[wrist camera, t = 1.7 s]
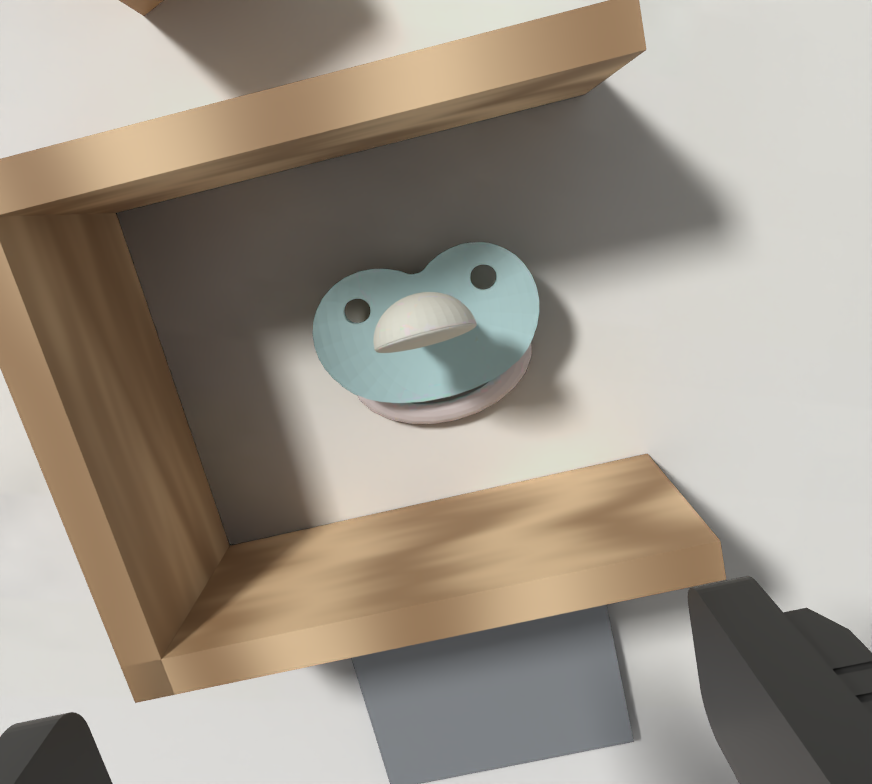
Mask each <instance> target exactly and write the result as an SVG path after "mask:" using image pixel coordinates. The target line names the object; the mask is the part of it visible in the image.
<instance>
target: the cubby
mask: <svg viewBox="0 0 872 784" xmlns="http://www.w3.org/2000/svg"><path fill="white" fill-rule="evenodd" d="M645 50H646V44H645V37H644V31H643V24H642V17H641V11H640V4H639V0H609V1H605V2H601V3H597V4H593V5H590V6H586V7H582V8H578V9H574V10H570V11H566V12H563V13H559V14H555V15H551V16H547V17H543V18H540V19H536V20H532V21H528V22H524V23H520V24H517V25H513V26H509V27H505V28H501V29H497V30H493V31H490V32H486V33H482V34H478V35H474V36H470V37H467V38H463V39H459V40H455V41H451V42H447V43H444V44H440V45H436V46H432V47H428V48H424V49H421V50H417V51H413V52H409V53H405V54H401V55H397V56H394V57H390V58H386V59H382V60H378V61H374V62H371V63H367V64H363V65H359V66H355V67H351V68H348V69H344V70H340V71H336V72H332V73H328V74H324V75H321V76H317V77H313V78H309V79H305V80H301V81H298V82H294V83H290V84H286V85H282V86H278V87H275V88H271V89H267V90H263V91H259V92H255V93H252V94H248V95H244V96H240V97H236V98H232V99H228V100H225V101H221V102H217V103H213V104H209V105H205V106H202V107H198V108H194V109H190V110H186V111H182V112H179V113H175V114H171V115H167V116H163V117H159V118H156V119H152V120H148V121H144V122H140V123H136V124H132V125H129V126H125V127H121V128H117V129H113V130H109V131H106V132H102V133H98V134H94V135H90V136H86V137H83V138H79V139H75V140H71V141H67V142H63V143H59V144H56V145H52V146H48V147H44V148H40V149H36V150H33V151H29V152H25V153H21V154H17V155H13V156H10V157H6V158H2V159H0V368H1V371H2V373H3V376H4V378H5V381H6V383H7V386H8V388H9V391H10V393H11V396H12V398H13V401H14V403H15V406H16V408H17V411H18V413H19V416H20V418H21V420H22V423H23V425H24V428H25V430H26V433H27V435H28V438H29V440H30V443H31V445H32V448H33V450H34V453H35V455H36V458H37V460H38V463H39V465H40V468H41V470H42V473H43V475H44V478H45V480H46V483H47V485H48V487H49V490H50V492H51V495H52V497H53V500H54V502H55V505H56V507H57V510H58V512H59V515H60V517H61V520H62V522H63V525H64V527H65V530H66V532H67V535H68V537H69V540H70V542H71V545H72V547H73V550H74V552H75V554H76V557H77V559H78V562H79V564H80V567H81V569H82V572H83V574H84V577H85V579H86V582H87V584H88V587H89V589H90V592H91V594H92V597H93V599H94V602H95V604H96V607H97V609H98V612H99V614H100V617H101V619H102V622H103V624H104V626H105V629H106V631H107V634H108V636H109V639H110V641H111V644H112V646H113V649H114V651H115V654H116V656H117V659H118V661H119V664H120V666H121V669H122V671H123V674H124V676H125V679H126V681H127V684H128V686H129V689H130V691H131V693H132V696H133V698H134V701H135V703H137V702H142V701H146V700H151V699H156V698H161V697H166V696H170V695H175V694H180V693H185V692H190V691H194V690H199V689H204V688H209V687H214V686H218V685H223V684H228V683H233V682H237V681H242V680H247V679H252V678H257V677H261V676H266V675H271V674H276V673H281V672H285V671H290V670H295V669H300V668H305V667H309V666H314V665H319V664H324V663H329V662H333V661H338V660H343V659H348V658H353V657H357V656H362V655H367V654H372V653H376V652H381V651H386V650H391V649H396V648H400V647H405V646H410V645H415V644H420V643H424V642H429V641H434V640H439V639H444V638H448V637H453V636H458V635H463V634H468V633H472V632H477V631H482V630H487V629H492V628H496V627H501V626H506V625H511V624H515V623H520V622H525V621H530V620H535V619H539V618H544V617H549V616H554V615H559V614H563V613H568V612H573V611H578V610H583V609H587V608H592V607H597V606H602V605H607V604H611V603H616V602H621V601H626V600H631V599H635V598H640V597H645V596H650V595H655V594H659V593H664V592H669V591H674V590H678V589H683V588H688V587H693V586H698V585H702V584H707V583H712V582H717V581H722V580H726V575H725V568H724V562H723V555H722V549H721V542H720V540H719V539H718V537H717V536H716V535H715V534H714V533H713V531H712V530H711V529H710V528H709V527H708V525H707V524H706V523H705V522H704V521H703V520H702V518H701V517H700V516H699V515H698V514H697V512H696V511H695V510H694V509H693V508H692V506H691V505H690V504H689V503H688V502H687V500H686V499H685V498H684V497H683V496H682V494H681V493H680V492H679V491H678V490H677V488H676V487H675V486H674V485H673V484H672V482H671V481H670V480H669V479H668V478H667V476H666V475H665V474H664V473H663V472H662V471H661V469H660V468H659V467H658V466H657V465H656V463H655V462H654V461H653V460H652V459H651V457H650V456H649V455H648V454H644V455H639V456H635V457H630V458H626V459H621V460H617V461H612V462H607V463H603V464H598V465H594V466H589V467H585V468H580V469H576V470H571V471H567V472H562V473H558V474H553V475H549V476H544V477H540V478H535V479H530V480H526V481H521V482H517V483H512V484H508V485H503V486H499V487H494V488H490V489H485V490H481V491H476V492H472V493H467V494H463V495H458V496H453V497H449V498H444V499H440V500H435V501H431V502H426V503H422V504H417V505H413V506H408V507H404V508H399V509H395V510H390V511H386V512H381V513H376V514H372V515H367V516H363V517H358V518H354V519H349V520H345V521H340V522H336V523H331V524H327V525H322V526H318V527H313V528H309V529H304V530H299V531H295V532H290V533H286V534H281V535H277V536H272V537H268V538H263V539H259V540H254V541H250V542H245V543H241V544H236V545H232V546H229V543H228V540H227V537H226V534H225V531H224V528H223V525H222V522H221V519H220V516H219V513H218V510H217V507H216V505H215V502H214V499H213V496H212V493H211V490H210V487H209V484H208V481H207V478H206V475H205V472H204V469H203V467H202V464H201V461H200V458H199V455H198V452H197V449H196V446H195V443H194V440H193V437H192V434H191V431H190V428H189V426H188V423H187V420H186V417H185V414H184V411H183V408H182V405H181V402H180V399H179V396H178V393H177V390H176V388H175V385H174V382H173V379H172V376H171V373H170V370H169V367H168V364H167V361H166V358H165V355H164V352H163V349H162V347H161V344H160V341H159V338H158V335H157V332H156V329H155V326H154V323H153V320H152V317H151V314H150V311H149V308H148V306H147V303H146V300H145V297H144V294H143V291H142V288H141V285H140V282H139V279H138V276H137V273H136V270H135V268H134V265H133V262H132V259H131V256H130V253H129V250H128V247H127V244H126V241H125V238H124V235H123V232H122V229H121V227H120V224H119V221H118V218H117V215H116V213H118V212H122V211H126V210H130V209H134V208H138V207H142V206H145V205H149V204H153V203H157V202H161V201H165V200H169V199H173V198H177V197H181V196H185V195H189V194H193V193H197V192H201V191H205V190H209V189H213V188H217V187H221V186H225V185H229V184H233V183H236V182H240V181H244V180H248V179H252V178H256V177H260V176H264V175H268V174H272V173H276V172H280V171H284V170H288V169H292V168H296V167H300V166H304V165H308V164H312V163H316V162H320V161H323V160H327V159H331V158H335V157H339V156H343V155H347V154H351V153H355V152H359V151H363V150H367V149H371V148H375V147H379V146H383V145H387V144H391V143H395V142H399V141H403V140H407V139H410V138H414V137H418V136H422V135H426V134H430V133H434V132H438V131H442V130H446V129H450V128H454V127H458V126H462V125H466V124H470V123H474V122H478V121H482V120H486V119H490V118H494V117H497V116H501V115H505V114H509V113H513V112H517V111H521V110H525V109H529V108H533V107H537V106H541V105H545V104H549V103H553V102H557V101H561V100H565V99H569V98H573V97H577V96H581V95H585V94H586V93H588V92H589V91H590V90H592V89H593V88H595V87H596V86H597V85H599V84H600V83H601V82H603V81H604V80H606V79H607V78H608V77H610V76H611V75H612V74H614V73H615V72H616V71H618V70H619V69H621V68H622V67H623V66H625V65H626V64H627V63H629V62H630V61H632V60H633V59H634V58H636V57H637V56H638V55H640V54H641V53H642V52H644V51H645Z"/></svg>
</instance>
